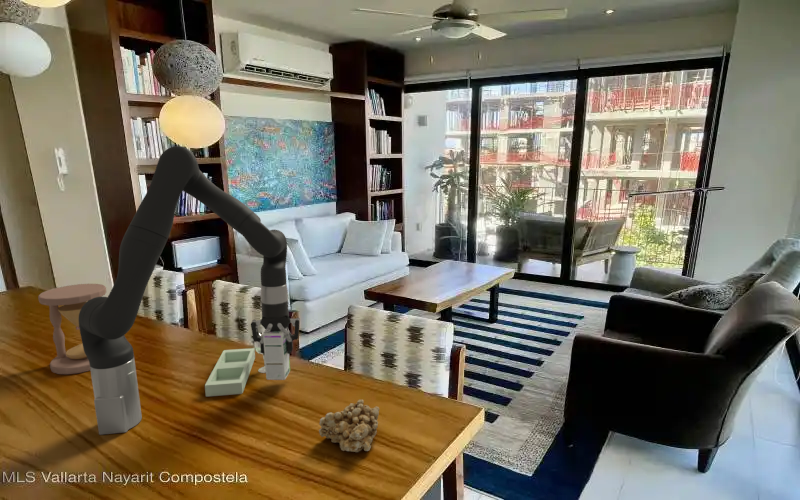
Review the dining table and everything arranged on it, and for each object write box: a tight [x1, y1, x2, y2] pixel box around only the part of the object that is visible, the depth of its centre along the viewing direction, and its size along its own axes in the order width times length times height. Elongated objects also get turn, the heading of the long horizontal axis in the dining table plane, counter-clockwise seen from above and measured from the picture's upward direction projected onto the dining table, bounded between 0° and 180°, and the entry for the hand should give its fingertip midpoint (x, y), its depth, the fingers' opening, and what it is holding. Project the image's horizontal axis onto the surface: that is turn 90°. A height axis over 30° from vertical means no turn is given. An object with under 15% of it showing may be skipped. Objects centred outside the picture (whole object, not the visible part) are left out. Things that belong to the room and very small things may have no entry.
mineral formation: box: [318, 399, 380, 453], centre depth 104 cm, size 8×13×15 cm
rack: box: [204, 347, 256, 397], centre depth 135 cm, size 24×10×4 cm, turn 10°
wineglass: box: [253, 331, 266, 374], centre depth 138 cm, size 6×6×12 cm
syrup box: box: [263, 329, 291, 381], centre depth 128 cm, size 6×6×14 cm
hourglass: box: [37, 283, 107, 375], centre depth 142 cm, size 18×18×25 cm
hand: (277, 353), depth 128 cm, fingers closed on syrup box, 6 cm apart
